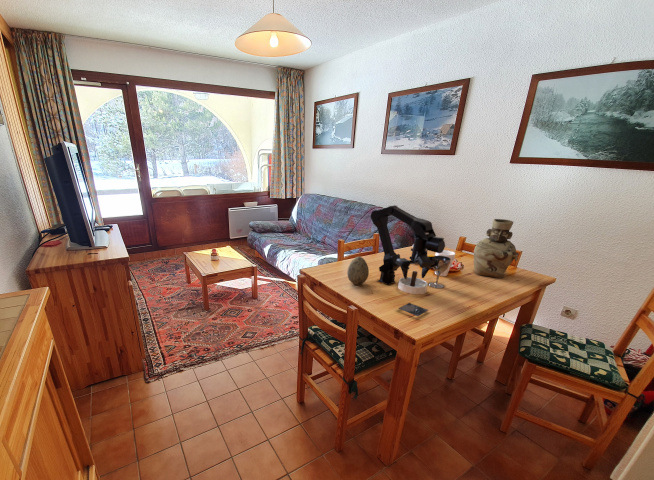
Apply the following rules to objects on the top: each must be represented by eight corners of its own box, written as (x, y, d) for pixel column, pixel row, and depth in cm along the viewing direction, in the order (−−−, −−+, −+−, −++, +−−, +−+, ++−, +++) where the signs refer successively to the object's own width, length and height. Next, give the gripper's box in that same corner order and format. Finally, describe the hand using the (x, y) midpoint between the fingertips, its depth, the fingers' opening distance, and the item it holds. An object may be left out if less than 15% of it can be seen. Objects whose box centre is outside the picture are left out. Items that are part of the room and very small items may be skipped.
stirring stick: (406, 290, 154) (409, 271, 150) (410, 288, 156) (413, 269, 152) (413, 292, 152) (416, 273, 148) (416, 290, 154) (420, 271, 150)
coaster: (397, 311, 135) (398, 308, 134) (408, 305, 140) (409, 302, 139) (417, 319, 128) (417, 316, 128) (428, 313, 133) (428, 309, 133)
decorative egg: (342, 281, 166) (345, 254, 160) (361, 279, 169) (363, 253, 163) (352, 289, 157) (354, 261, 151) (371, 286, 159) (374, 259, 153)
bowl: (392, 290, 155) (393, 281, 153) (406, 283, 163) (408, 275, 161) (417, 299, 146) (418, 289, 144) (431, 292, 153) (432, 282, 151)
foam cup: (432, 275, 173) (436, 253, 168) (431, 270, 181) (435, 249, 176) (451, 278, 170) (456, 255, 165) (449, 272, 178) (454, 251, 173)
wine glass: (446, 289, 157) (452, 261, 151) (429, 287, 158) (435, 260, 152) (442, 282, 164) (448, 256, 158) (426, 281, 165) (431, 255, 160)
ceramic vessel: (499, 282, 164) (516, 226, 153) (462, 270, 182) (474, 219, 170) (519, 276, 173) (536, 223, 161) (481, 265, 190) (494, 216, 178)
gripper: (410, 253, 137) (404, 286, 143) (448, 252, 139) (441, 283, 145) (397, 246, 147) (393, 277, 153) (433, 245, 150) (427, 275, 156)
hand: (413, 278), depth 151 cm, fingers open, 9 cm apart
